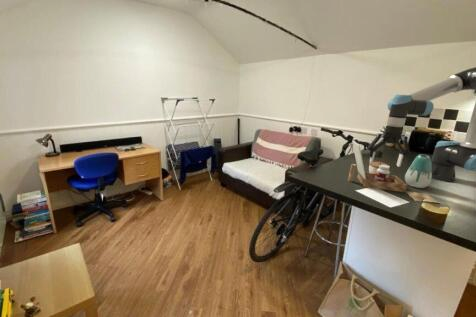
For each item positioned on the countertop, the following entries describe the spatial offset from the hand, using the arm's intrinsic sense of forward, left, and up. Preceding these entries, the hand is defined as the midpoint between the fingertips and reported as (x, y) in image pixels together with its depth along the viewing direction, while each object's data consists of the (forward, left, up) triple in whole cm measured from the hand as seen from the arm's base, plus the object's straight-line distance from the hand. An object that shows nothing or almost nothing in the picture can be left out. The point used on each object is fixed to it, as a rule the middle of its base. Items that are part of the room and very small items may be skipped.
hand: (384, 164), depth 124 cm
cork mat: (-15, +12, -12) cm, 23 cm away
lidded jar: (-3, -14, -12) cm, 19 cm away
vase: (-20, -5, -12) cm, 24 cm away
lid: (+13, 0, +2) cm, 13 cm away
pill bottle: (0, 0, -12) cm, 12 cm away
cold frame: (+3, 0, -12) cm, 12 cm away
